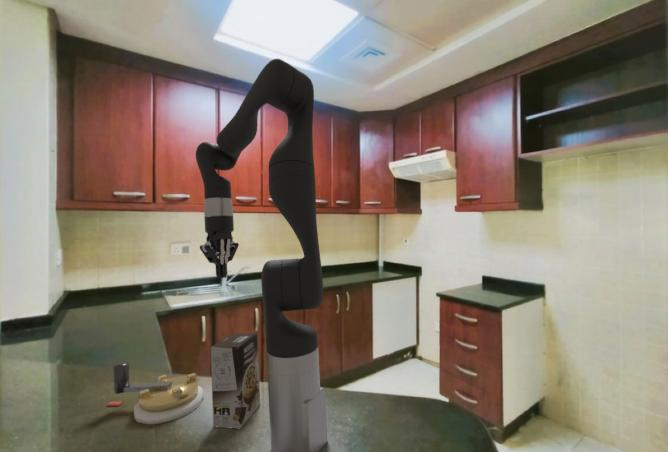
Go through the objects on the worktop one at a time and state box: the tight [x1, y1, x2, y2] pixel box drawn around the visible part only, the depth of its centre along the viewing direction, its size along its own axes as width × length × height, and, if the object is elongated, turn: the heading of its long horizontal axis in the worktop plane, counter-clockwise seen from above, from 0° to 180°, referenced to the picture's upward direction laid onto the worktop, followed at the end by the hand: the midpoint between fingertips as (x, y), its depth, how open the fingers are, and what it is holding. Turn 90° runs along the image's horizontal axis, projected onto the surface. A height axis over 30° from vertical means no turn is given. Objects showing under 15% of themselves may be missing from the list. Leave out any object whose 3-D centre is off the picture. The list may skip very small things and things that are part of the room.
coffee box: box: [210, 332, 261, 429], centre depth 66 cm, size 9×6×16 cm
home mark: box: [106, 401, 124, 407], centre depth 73 cm, size 3×1×1 cm, turn 83°
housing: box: [133, 385, 204, 425], centre depth 71 cm, size 14×14×2 cm
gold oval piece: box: [112, 360, 199, 412], centre depth 71 cm, size 18×12×8 cm, turn 90°
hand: (221, 277), depth 86 cm, fingers closed
